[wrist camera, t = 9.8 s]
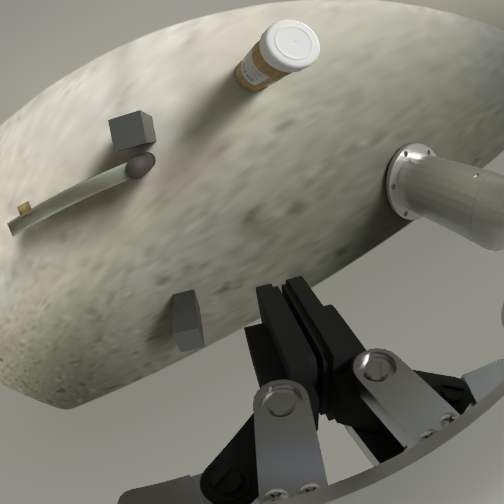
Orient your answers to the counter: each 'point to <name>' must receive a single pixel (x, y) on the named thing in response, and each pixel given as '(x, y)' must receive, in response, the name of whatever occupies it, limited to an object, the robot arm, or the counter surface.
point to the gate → (82, 191)
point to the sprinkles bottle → (278, 54)
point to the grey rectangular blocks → (185, 303)
